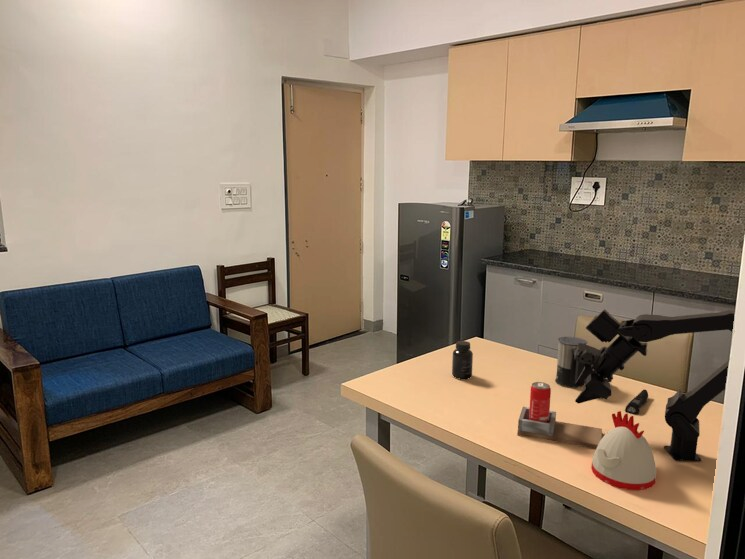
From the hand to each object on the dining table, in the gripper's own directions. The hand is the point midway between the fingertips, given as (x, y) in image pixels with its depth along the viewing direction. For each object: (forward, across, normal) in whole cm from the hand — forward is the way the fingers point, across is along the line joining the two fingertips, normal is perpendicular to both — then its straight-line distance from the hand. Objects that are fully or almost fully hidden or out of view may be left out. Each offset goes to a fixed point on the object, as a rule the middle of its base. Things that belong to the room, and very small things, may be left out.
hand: (576, 393), depth 152 cm
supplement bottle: (+33, -28, -21) cm, 48 cm away
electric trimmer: (+1, -22, +23) cm, 32 cm away
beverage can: (+13, +4, -2) cm, 14 cm away
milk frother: (+11, -34, +11) cm, 38 cm away
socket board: (+11, +4, +3) cm, 12 cm away
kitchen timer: (+1, +20, +14) cm, 25 cm away
